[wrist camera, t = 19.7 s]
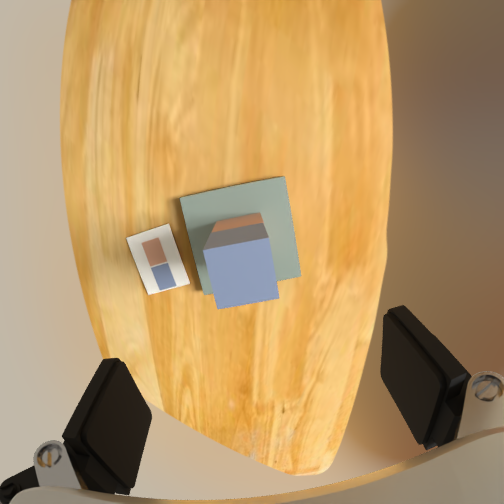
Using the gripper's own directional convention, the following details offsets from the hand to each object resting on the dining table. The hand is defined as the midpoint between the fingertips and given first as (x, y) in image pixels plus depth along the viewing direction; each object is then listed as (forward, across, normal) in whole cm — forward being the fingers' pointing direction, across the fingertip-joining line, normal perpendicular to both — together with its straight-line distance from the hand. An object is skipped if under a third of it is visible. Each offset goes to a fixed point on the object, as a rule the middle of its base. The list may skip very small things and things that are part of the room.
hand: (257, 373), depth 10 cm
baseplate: (+27, +1, +2) cm, 27 cm away
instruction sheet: (+27, +12, +3) cm, 30 cm away
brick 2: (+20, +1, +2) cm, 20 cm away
